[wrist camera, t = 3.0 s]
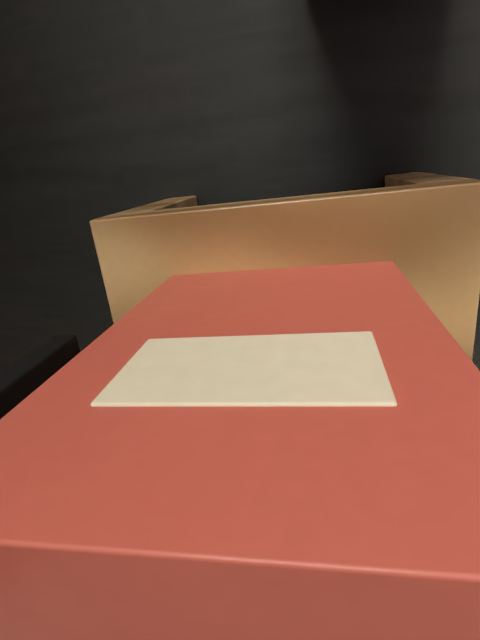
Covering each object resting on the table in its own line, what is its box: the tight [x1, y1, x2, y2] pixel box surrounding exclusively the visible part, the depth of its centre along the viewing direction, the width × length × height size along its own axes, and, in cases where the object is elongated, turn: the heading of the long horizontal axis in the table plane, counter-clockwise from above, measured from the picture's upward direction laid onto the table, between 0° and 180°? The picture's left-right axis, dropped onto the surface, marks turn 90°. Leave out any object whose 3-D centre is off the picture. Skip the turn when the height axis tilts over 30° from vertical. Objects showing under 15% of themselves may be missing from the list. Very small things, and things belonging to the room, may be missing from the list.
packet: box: [0, 261, 480, 640], centre depth 9 cm, size 5×7×10 cm
